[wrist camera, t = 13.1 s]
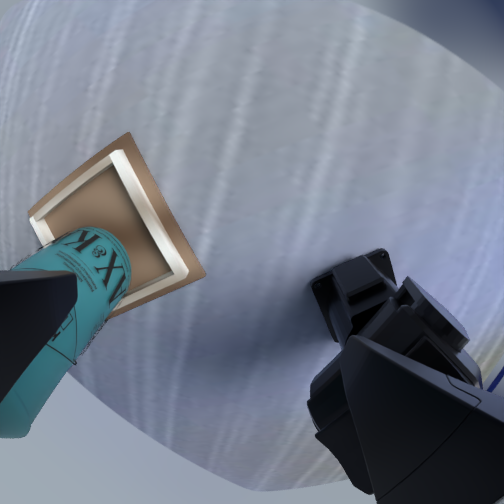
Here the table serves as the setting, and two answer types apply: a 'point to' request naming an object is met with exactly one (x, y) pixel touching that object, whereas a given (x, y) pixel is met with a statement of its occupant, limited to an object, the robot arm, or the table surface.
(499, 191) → the table surface
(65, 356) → the beverage bottle
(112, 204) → the tray
